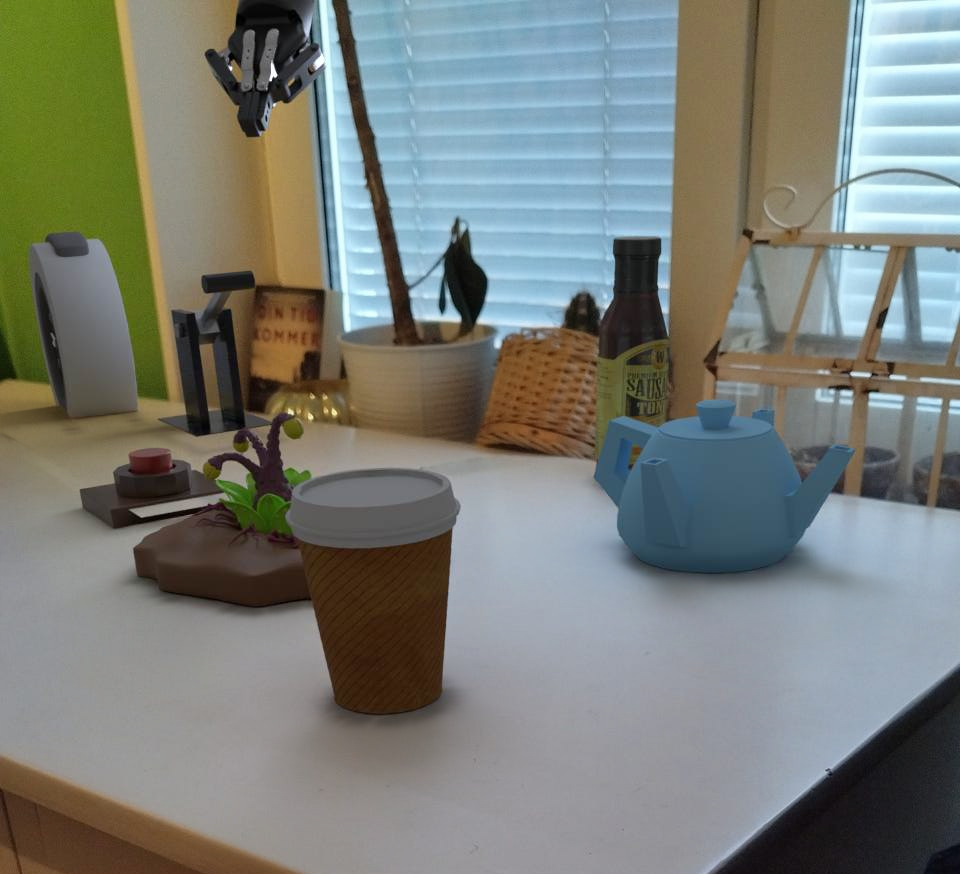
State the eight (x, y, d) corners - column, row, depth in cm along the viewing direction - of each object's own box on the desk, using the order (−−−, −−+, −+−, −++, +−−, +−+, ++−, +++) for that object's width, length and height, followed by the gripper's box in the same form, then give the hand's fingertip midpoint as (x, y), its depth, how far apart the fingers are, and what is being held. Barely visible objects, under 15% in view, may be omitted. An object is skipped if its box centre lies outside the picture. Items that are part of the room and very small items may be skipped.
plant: (264, 624, 88) (243, 454, 83) (101, 573, 100) (73, 421, 95) (467, 552, 101) (460, 401, 95) (301, 514, 113) (286, 378, 107)
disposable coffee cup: (336, 739, 71) (313, 519, 65) (287, 681, 79) (262, 480, 73) (496, 705, 74) (487, 492, 69) (433, 653, 82) (421, 458, 76)
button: (139, 479, 113) (136, 458, 112) (126, 472, 116) (122, 451, 115) (179, 472, 115) (176, 452, 114) (165, 465, 118) (162, 445, 117)
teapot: (772, 515, 107) (781, 376, 101) (849, 568, 94) (864, 411, 88) (588, 532, 105) (588, 391, 99) (642, 589, 92) (645, 429, 86)
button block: (114, 529, 111) (106, 487, 109) (82, 508, 118) (75, 468, 116) (235, 507, 116) (230, 466, 114) (198, 487, 123) (192, 449, 121)
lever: (258, 287, 130) (250, 263, 130) (210, 292, 127) (202, 268, 127) (225, 341, 141) (218, 320, 140) (181, 347, 138) (174, 325, 138)
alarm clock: (52, 405, 164) (19, 229, 154) (113, 398, 166) (83, 225, 156) (78, 435, 146) (41, 240, 137) (145, 427, 149) (114, 234, 139)
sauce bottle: (630, 490, 115) (634, 241, 106) (580, 479, 120) (579, 239, 110) (680, 476, 119) (688, 235, 109) (629, 466, 123) (633, 232, 114)
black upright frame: (278, 437, 141) (263, 309, 135) (199, 450, 137) (180, 319, 131) (235, 421, 150) (219, 300, 144) (159, 432, 146) (140, 308, 140)
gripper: (205, -35, 134) (174, 103, 130) (329, -44, 132) (302, 97, 127) (231, 29, 141) (203, 162, 137) (349, 22, 139) (324, 157, 134)
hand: (251, 130), depth 132 cm, fingers closed
